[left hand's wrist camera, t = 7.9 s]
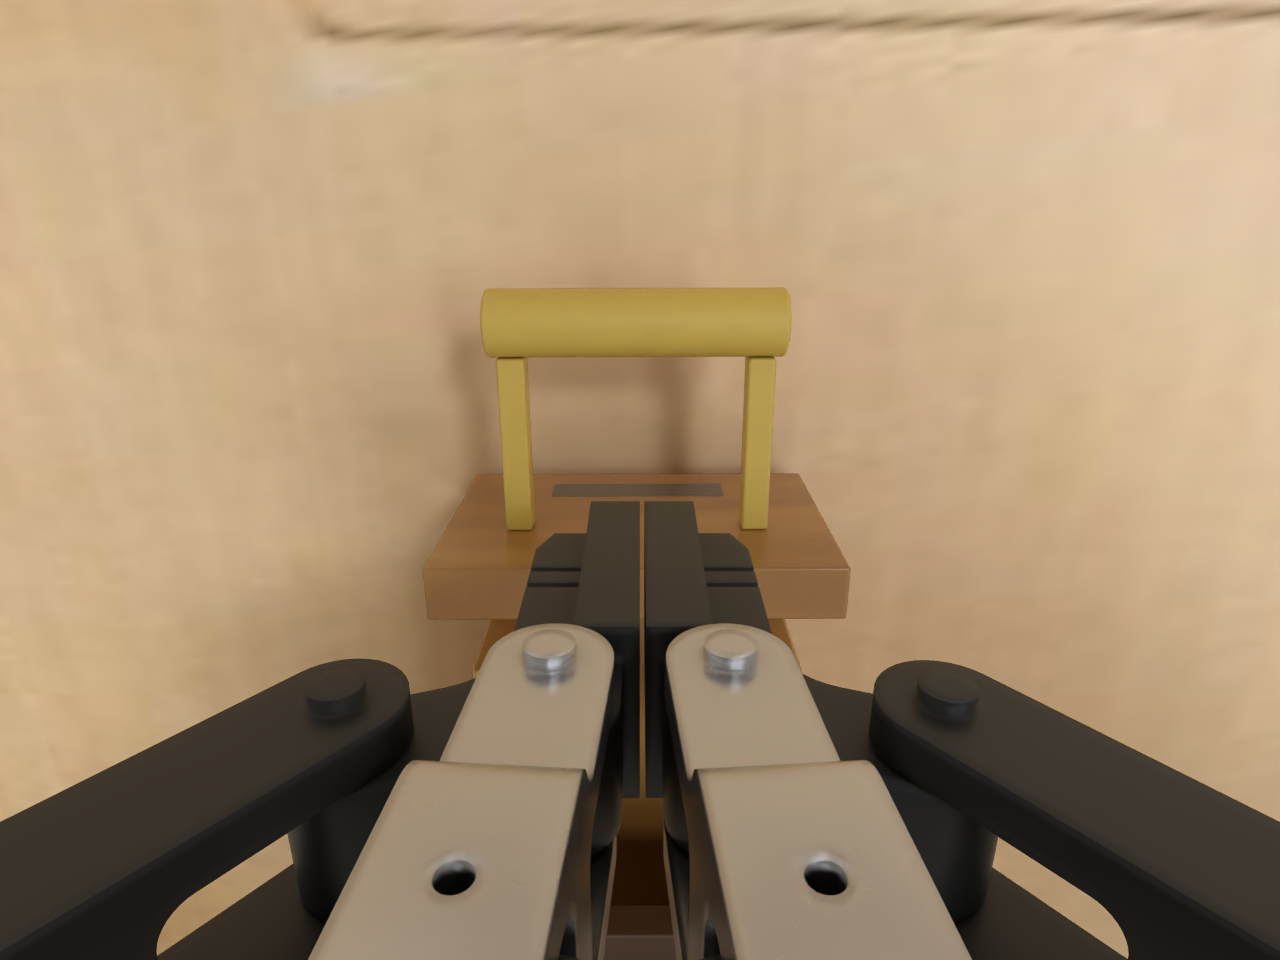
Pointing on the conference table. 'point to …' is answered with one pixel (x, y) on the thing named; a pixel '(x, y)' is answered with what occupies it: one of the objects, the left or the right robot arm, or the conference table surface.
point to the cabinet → (640, 933)
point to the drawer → (634, 487)
